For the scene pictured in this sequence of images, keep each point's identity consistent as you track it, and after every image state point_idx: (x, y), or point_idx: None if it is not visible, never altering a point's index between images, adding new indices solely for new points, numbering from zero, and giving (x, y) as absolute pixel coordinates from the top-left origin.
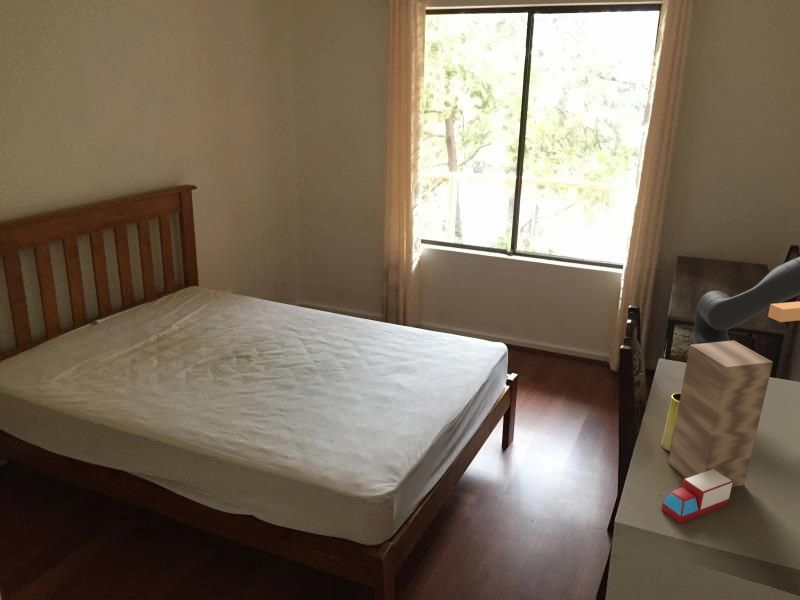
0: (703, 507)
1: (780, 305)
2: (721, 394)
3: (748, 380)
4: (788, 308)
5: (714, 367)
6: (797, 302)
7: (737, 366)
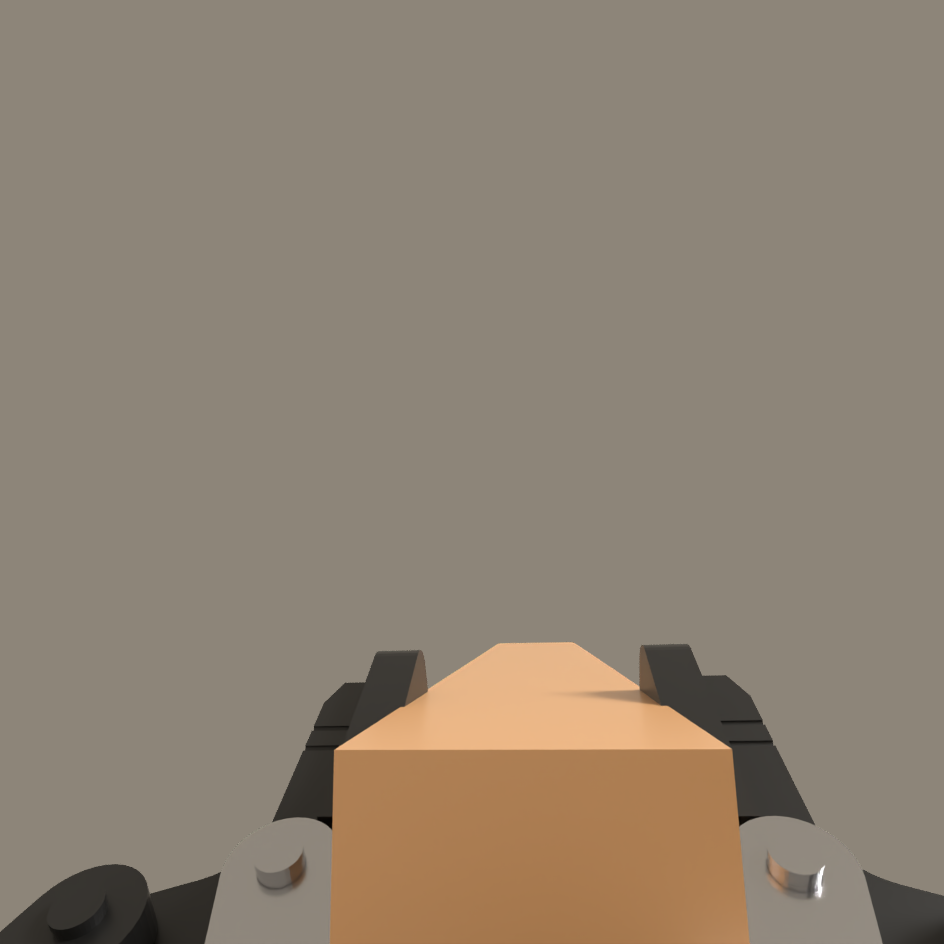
0: None
1: (547, 643)
2: None
3: None
4: (502, 644)
5: None
6: (568, 648)
7: None
